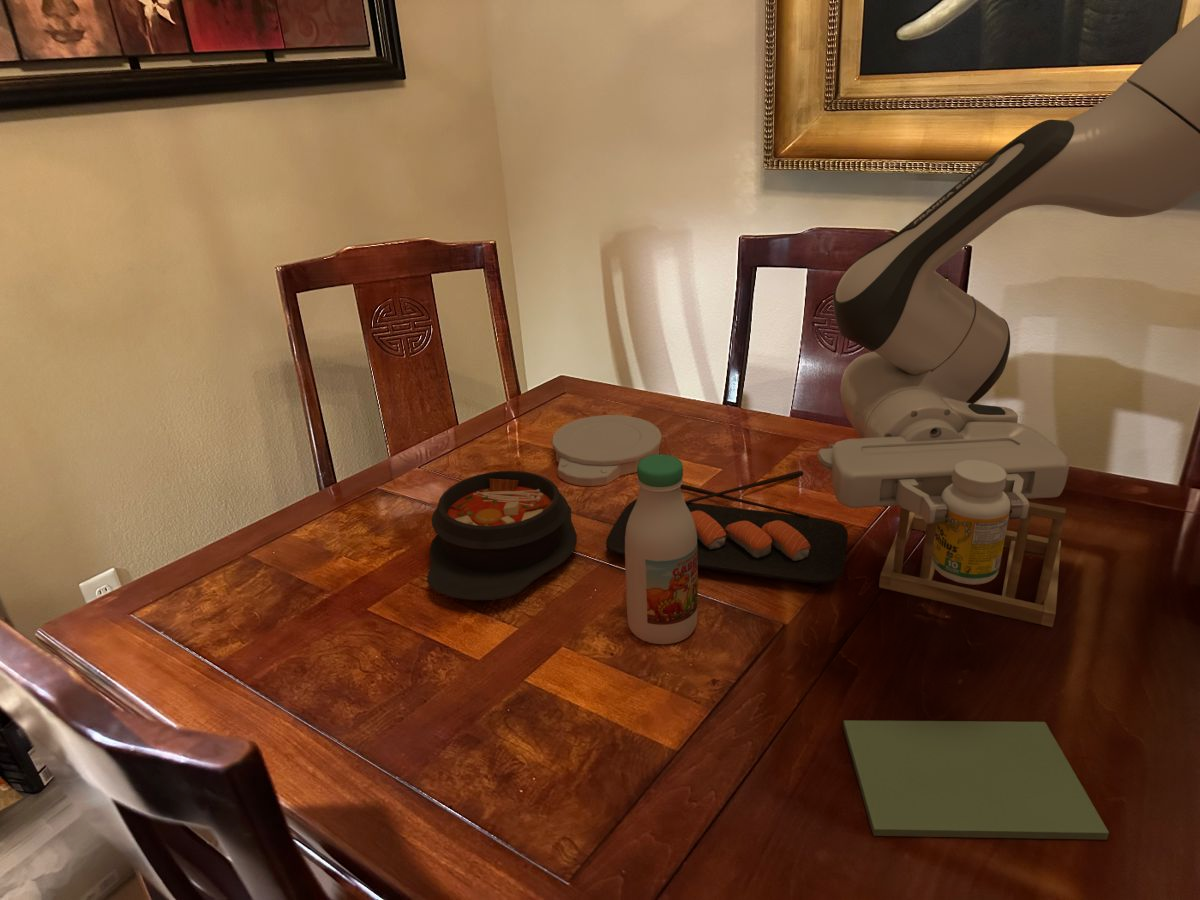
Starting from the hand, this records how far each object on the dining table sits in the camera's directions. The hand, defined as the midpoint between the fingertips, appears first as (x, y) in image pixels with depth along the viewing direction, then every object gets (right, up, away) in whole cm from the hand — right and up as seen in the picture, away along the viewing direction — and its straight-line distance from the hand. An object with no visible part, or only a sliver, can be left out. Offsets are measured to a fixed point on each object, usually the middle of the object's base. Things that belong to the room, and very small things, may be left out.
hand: (979, 514), depth 69 cm
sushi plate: (-13, -4, +43) cm, 46 cm away
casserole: (-43, -8, +38) cm, 58 cm away
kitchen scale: (-31, +4, +62) cm, 69 cm away
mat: (0, -23, +3) cm, 23 cm away
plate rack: (+13, -9, +30) cm, 34 cm away
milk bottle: (-25, -14, +24) cm, 37 cm away
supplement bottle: (0, -5, +4) cm, 6 cm away
